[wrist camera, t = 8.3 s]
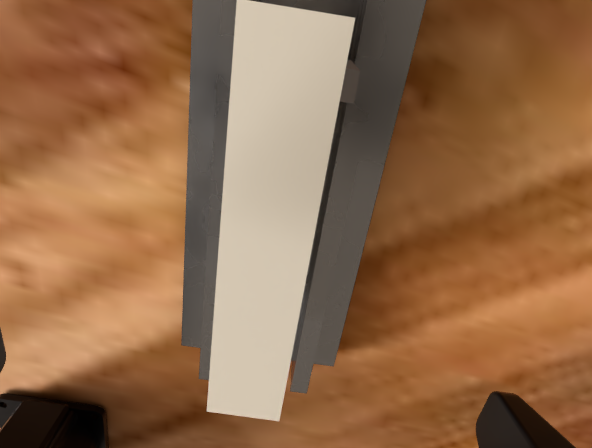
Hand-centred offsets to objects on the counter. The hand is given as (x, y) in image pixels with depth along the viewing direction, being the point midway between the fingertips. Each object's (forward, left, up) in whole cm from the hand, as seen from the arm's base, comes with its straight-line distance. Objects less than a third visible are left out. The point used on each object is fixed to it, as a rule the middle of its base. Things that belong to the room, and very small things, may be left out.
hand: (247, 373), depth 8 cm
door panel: (0, 0, -11) cm, 11 cm away
